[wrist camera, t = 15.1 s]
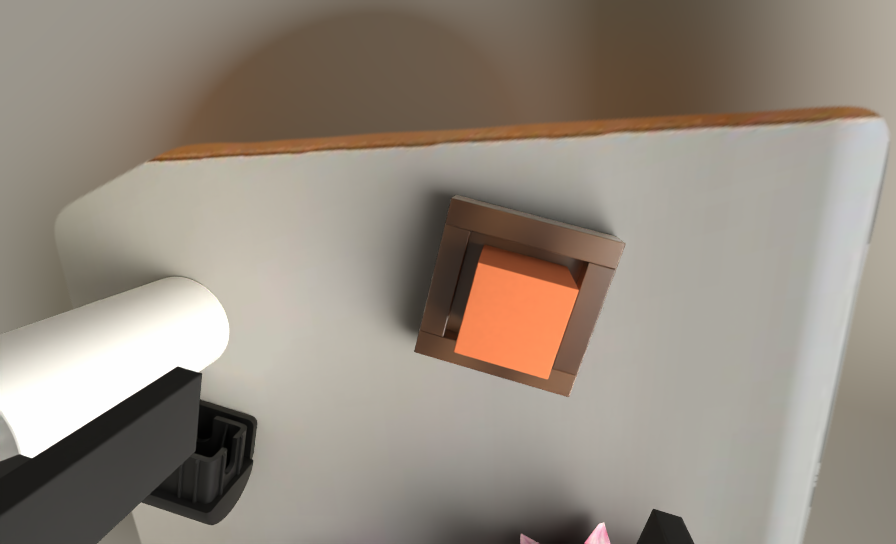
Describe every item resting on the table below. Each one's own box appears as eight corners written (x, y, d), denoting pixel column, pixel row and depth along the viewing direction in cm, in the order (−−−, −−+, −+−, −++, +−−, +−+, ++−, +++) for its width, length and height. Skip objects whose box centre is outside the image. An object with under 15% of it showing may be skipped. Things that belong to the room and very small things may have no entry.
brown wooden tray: (421, 338, 34) (413, 352, 32) (456, 194, 31) (451, 197, 28) (565, 380, 33) (569, 397, 31) (617, 236, 30) (626, 243, 27)
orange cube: (463, 320, 32) (453, 352, 27) (484, 244, 30) (478, 262, 25) (542, 343, 32) (547, 379, 26) (567, 266, 30) (579, 289, 25)
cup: (230, 373, 37) (35, 521, 22) (145, 358, 38) (-99, 490, 23) (228, 284, 35) (8, 380, 20) (137, 270, 36) (-138, 351, 21)
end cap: (158, 450, 41) (91, 505, 35) (161, 387, 39) (90, 432, 32) (255, 482, 40) (205, 544, 34) (263, 418, 38) (212, 471, 32)
